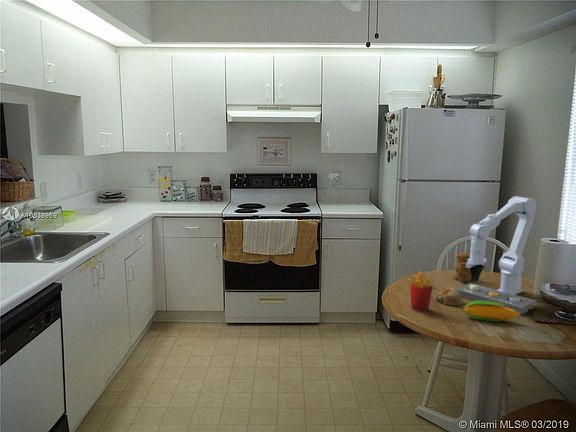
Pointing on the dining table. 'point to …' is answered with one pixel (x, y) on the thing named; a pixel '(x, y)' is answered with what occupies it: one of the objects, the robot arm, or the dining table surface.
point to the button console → (496, 298)
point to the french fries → (420, 292)
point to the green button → (474, 287)
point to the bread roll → (449, 297)
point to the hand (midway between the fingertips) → (475, 280)
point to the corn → (489, 311)
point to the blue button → (514, 299)
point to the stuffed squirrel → (462, 269)
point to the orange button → (494, 294)
